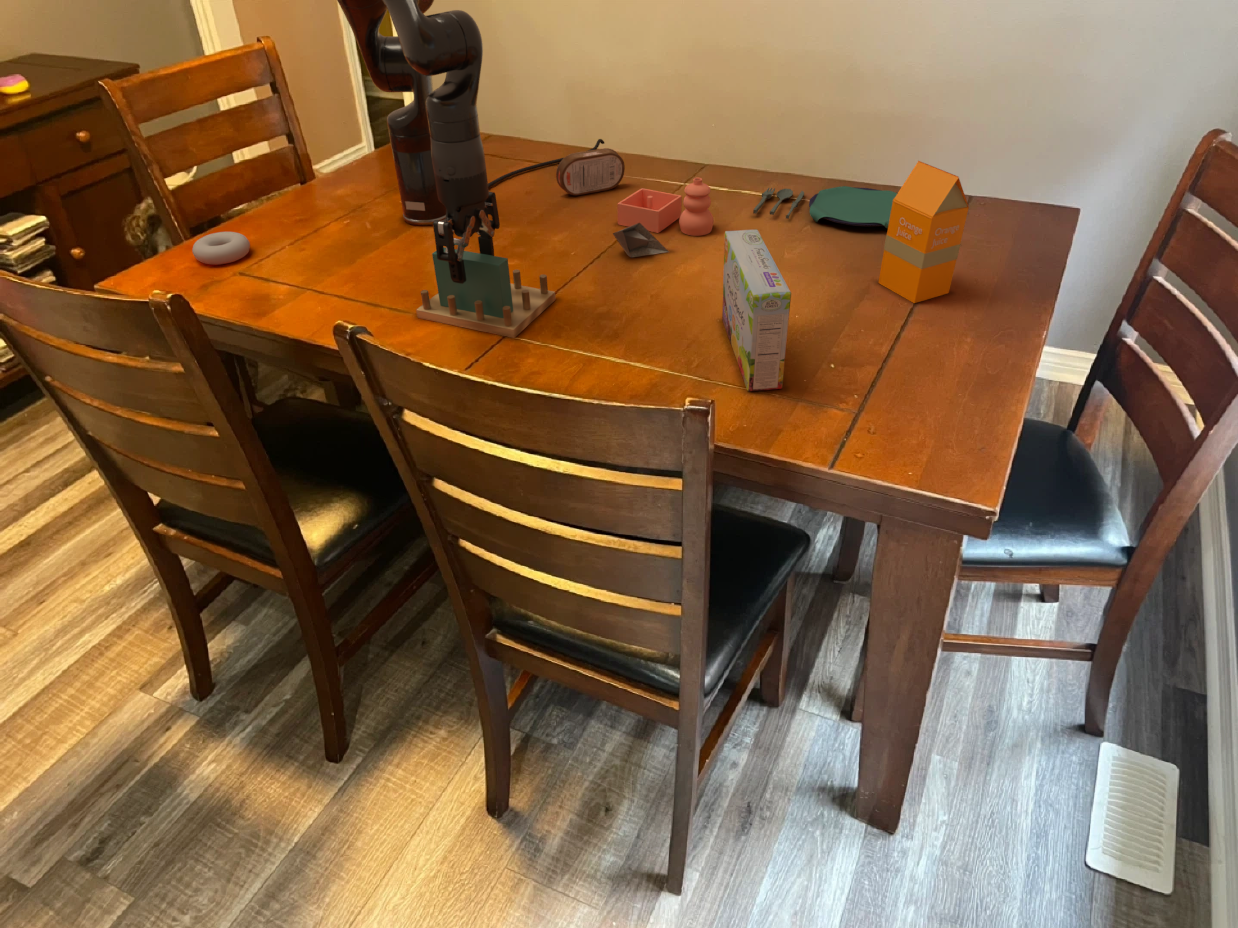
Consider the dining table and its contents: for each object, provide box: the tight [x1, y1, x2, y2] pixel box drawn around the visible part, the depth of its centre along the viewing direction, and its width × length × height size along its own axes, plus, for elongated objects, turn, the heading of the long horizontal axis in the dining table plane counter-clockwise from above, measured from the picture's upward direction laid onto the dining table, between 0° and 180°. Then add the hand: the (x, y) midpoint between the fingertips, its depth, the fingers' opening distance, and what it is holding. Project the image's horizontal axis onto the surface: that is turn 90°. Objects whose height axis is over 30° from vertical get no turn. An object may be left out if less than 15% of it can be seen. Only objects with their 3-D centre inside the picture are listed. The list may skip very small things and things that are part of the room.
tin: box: [555, 147, 626, 196], centre depth 180 cm, size 15×3×8 cm, turn 115°
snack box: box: [721, 228, 792, 392], centre depth 123 cm, size 21×6×15 cm, turn 5°
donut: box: [191, 231, 251, 266], centre depth 158 cm, size 10×4×10 cm
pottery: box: [616, 177, 714, 237], centre depth 164 cm, size 18×10×10 cm, turn 59°
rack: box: [415, 269, 556, 339], centre depth 139 cm, size 14×18×4 cm
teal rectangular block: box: [431, 246, 513, 318], centre depth 135 cm, size 3×12×9 cm, turn 66°
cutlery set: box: [752, 185, 898, 229], centre depth 170 cm, size 20×30×2 cm, turn 69°
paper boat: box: [612, 223, 670, 258], centre depth 154 cm, size 12×6×9 cm
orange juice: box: [877, 160, 970, 304], centre depth 137 cm, size 8×9×20 cm
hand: (473, 270), depth 134 cm, fingers open, 8 cm apart
